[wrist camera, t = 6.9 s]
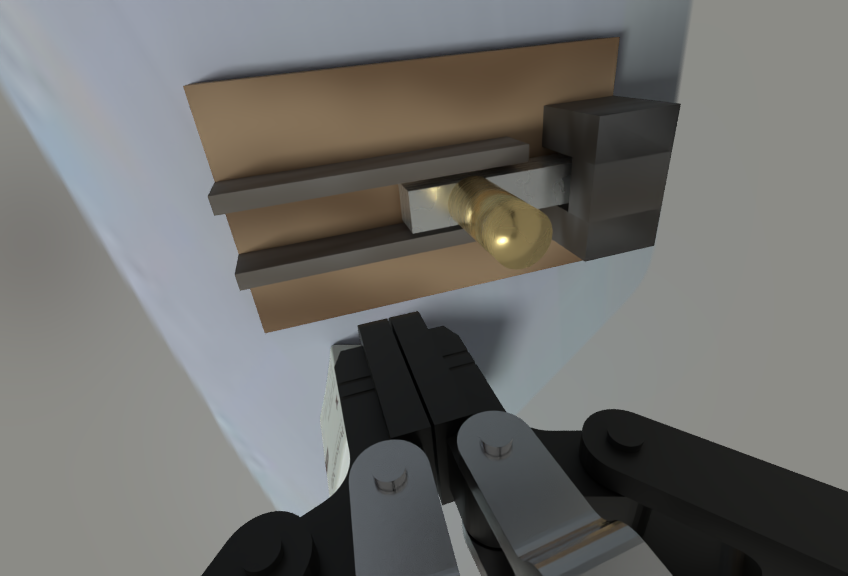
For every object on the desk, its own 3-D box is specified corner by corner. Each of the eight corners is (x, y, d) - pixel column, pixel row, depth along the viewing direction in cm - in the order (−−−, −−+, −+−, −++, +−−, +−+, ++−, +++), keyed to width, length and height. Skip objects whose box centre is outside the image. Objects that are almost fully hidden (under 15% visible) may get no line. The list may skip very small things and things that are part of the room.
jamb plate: (189, 83, 18) (155, 94, 13) (600, 37, 23) (693, 32, 17) (265, 318, 24) (262, 388, 19) (580, 248, 28) (645, 290, 23)
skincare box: (329, 342, 26) (344, 431, 20) (423, 343, 28) (463, 424, 22) (318, 419, 29) (329, 519, 23) (406, 415, 31) (438, 505, 25)
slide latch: (397, 176, 21) (444, 224, 15) (598, 142, 23) (708, 172, 17) (402, 223, 22) (448, 285, 16) (593, 187, 24) (695, 229, 18)
